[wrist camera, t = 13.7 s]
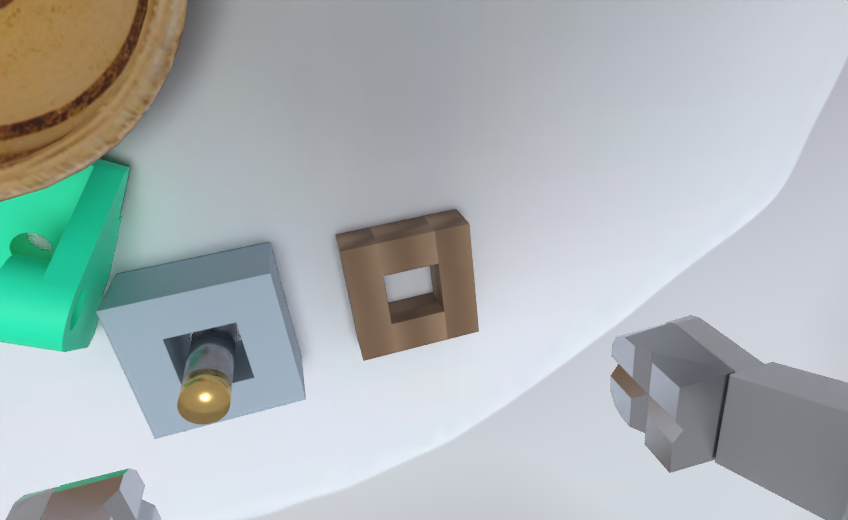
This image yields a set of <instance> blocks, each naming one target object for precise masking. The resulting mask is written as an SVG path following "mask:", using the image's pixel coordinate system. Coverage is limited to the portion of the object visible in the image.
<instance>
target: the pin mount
mask: <svg viewBox="0 0 848 520" xmlns="http://www.w3.org/2000/svg"><path fill="white" fill-rule="evenodd" d="M336 239H337V243H338V248H339V253H340V258H341V262H342V267H343V272H344V277H345V281H346V286H347V291H348V295H349V300H350V305H351V310H352V314H353V319H354V324H355V328H356V333H357V338H358V342H359V345H360V349H361V353H362V357H363V360H368V359H372V358H376V357H380V356H384V355H388V354H392V353H396V352H400V351H404V350H408V349H411V348H415V347H419V346H423V345H427V344H431V343H435V342H439V341H443V340H447V339H451V338H455V337H458V336H462V335H466V334H470V333H474V332H478V331H479V328H478V317H477V305H476V294H475V283H474V271H473V260H472V249H471V238H470V226H469V223H468V222H467V221H466V220H465V219H464V217H463V216H462V215H461V214H460V213H459V212H458V211H457V210H456V209H455V210H451V211H446V212H441V213H437V214H432V215H427V216H422V217H418V218H413V219H408V220H404V221H399V222H394V223H389V224H385V225H380V226H375V227H371V228H366V229H361V230H356V231H352V232H347V233H342V234H338V235H336ZM426 266H430V270H431V278H432V285H433V293H429V294H425V295H421V296H417V297H413V298H408V299H404V300H400V301H396V302H392V303H388V301H387V295H386V289H385V284H384V278H383V276H386V275H391V274H395V273H399V272H404V271H408V270H412V269H417V268H421V267H426Z"/></svg>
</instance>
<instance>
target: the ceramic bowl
mask: <svg viewBox="0 0 848 520" xmlns="http://www.w3.org/2000/svg"><path fill="white" fill-rule="evenodd" d="M187 3H188V0H0V202H2V201H5V200H9V199H12V198H16V197H19V196H22V195H26V194H29V193H32V192H36V191H39V190H42V189H46V188H48V187H50V186H52V185H54V184H56V183H58V182H60V181H62V180H64V179H66V178H68V177H70V176H72V175H74V174H76V173H78V172H80V171H82V170H84V169H86V168H88V167H89V166H90V165H91V164H93V163H94V162H95V161H97V160H98V159H99V158H100V157H102V156H103V155H104V154H106V153H107V152H108V151H110V150H111V149H112V148H113V147H115V146H116V145H117V144H119V143H120V142H121V141H122V140H123V139H124V138H125V137H126V135H127V134H128V133H129V132H130V131H131V130H132V128H133V127H134V126H135V125H136V124H137V123H138V121H139V120H140V119H141V118H142V117H143V116H144V114H145V113H146V112H147V111H148V110H149V109H150V107H151V105H152V103H153V101H154V100H155V98H156V96H157V94H158V92H159V90H160V89H161V87H162V85H163V83H164V81H165V80H166V78H167V76H168V74H169V72H170V70H171V68H172V65H173V62H174V58H175V55H176V52H177V49H178V46H179V42H180V39H181V36H182V33H183V29H184V26H185V21H186V12H187Z"/></svg>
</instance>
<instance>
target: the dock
mask: <svg viewBox="0 0 848 520" xmlns="http://www.w3.org/2000/svg"><path fill="white" fill-rule="evenodd" d="M96 313H97V315H98V317H99V319H100V321H101V324H102V326H103V328H104V330H105V332H106V334H107V336H108V339H109V341H110V343H111V345H112V347H113V349H114V352H115V354H116V356H117V358H118V360H119V362H120V365H121V367H122V369H123V371H124V373H125V375H126V377H127V380H128V382H129V384H130V386H131V388H132V390H133V393H134V395H135V397H136V399H137V401H138V403H139V406H140V408H141V410H142V412H143V414H144V416H145V419H146V421H147V423H148V425H149V427H150V429H151V431H152V434H153V436H154V438H155V439H156V438H160V437H164V436H168V435H172V434H175V433H179V432H183V431H187V430H191V429H194V428H198V427H202V426H206V425H210V424H194V423H191V422H189V421H187V420H185V419H184V418H183V417H182V416H181V415H180V414H179V412H178V409H177V402H178V398H179V393H180V389H181V384H182V380H183V376H184V371H185V367H186V362H187V358H188V353H189V349H190V345H191V341H190V339H189V336H188V333H192V332H197V331H201V330H205V329H210V328H214V327H218V326H223V325H227V324H231V323H235V322H236V323H237V326H238V329H239V333H240V336H241V339H242V341H238V342H236V348H235V359H234V370H233V381H232V392H231V402H230V409H229V411H228V413H227V414H226V415H225V416H224V417H223V418H222V419H220V420H219V421H217V422H221V421H225V420H229V419H232V418H236V417H240V416H244V415H248V414H251V413H255V412H259V411H263V410H267V409H270V408H274V407H278V406H282V405H286V404H290V403H293V402H297V401H301V400H305V399H306V396H305V386H304V376H303V366H302V357H301V354H300V350H299V346H298V343H297V339H296V335H295V332H294V328H293V324H292V321H291V317H290V313H289V310H288V306H287V302H286V299H285V295H284V291H283V288H282V284H281V280H280V277H279V273H278V269H277V266H276V262H275V258H274V255H273V251H272V248H271V244H270V242H267V243H263V244H258V245H253V246H248V247H244V248H239V249H234V250H229V251H225V252H220V253H215V254H210V255H205V256H201V257H196V258H191V259H186V260H182V261H177V262H172V263H167V264H163V265H158V266H153V267H148V268H144V269H139V270H134V271H129V272H124V273H120V274H117V275H116V277H115V278H114V280H113V282H112V284H111V286H110V287H109V289H108V291H107V293H106V294H105V296H104V298H103V300H102V302H101V303H100V305H99V307H98V309H97V311H96ZM217 422H214V423H217ZM211 424H213V423H211Z"/></svg>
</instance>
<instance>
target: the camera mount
mask: <svg viewBox="0 0 848 520" xmlns="http://www.w3.org/2000/svg"><path fill="white" fill-rule="evenodd" d="M129 170H130V167H127V166H124V165H120V164H117V163H113V162H110V161H106V160H102V159H98V160H97V161H95V162H94V163H93V164H91V165H90V166H89V167H88V168H86V169H84V170H82V171H80V172H78V173H76V174H74V175H72V176H70V177H68V178H66V179H64V180H62V181H60V182H58V183H56V184H54V185H52V186H50V187H48V188H46V189H42V190H39V191H36V192H32V193H29V194H26V195H22V196H19V197H16V198H12V199H9V200H5V201H2V202H0V342H4V343H11V344H17V345H24V346H30V347H36V348H43V349H49V350H56V351H62V352H66V351H71V350H76V349H82V348H87V347H88V346H89V344H90V342H91V340H92V338H93V336H94V334H95V329H96V325H97V320H98V315H97V313H96V311H97V309H98V307H99V305H100V303H101V301H102V296H103V292H104V287H105V285H106V284H107V282H108V279H109V274H110V270H111V265H112V260H113V256H114V251H115V246H116V242H117V237H118V232H119V228H120V223H121V218H122V216H120V212H121V207H122V203H123V198H124V193H125V189H126V184H127V179H128V175H129ZM26 233H36V234H39V235H41V236H43V237H44V238H46V239H47V240H48V241H49V242H50V243H51V245H52V247H53V250H51V251H48V250H42V249H39V248H37V247H36V246H34V245H33V244H32V243H31V242H30V241H29V240H28V238H27V235H26Z"/></svg>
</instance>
